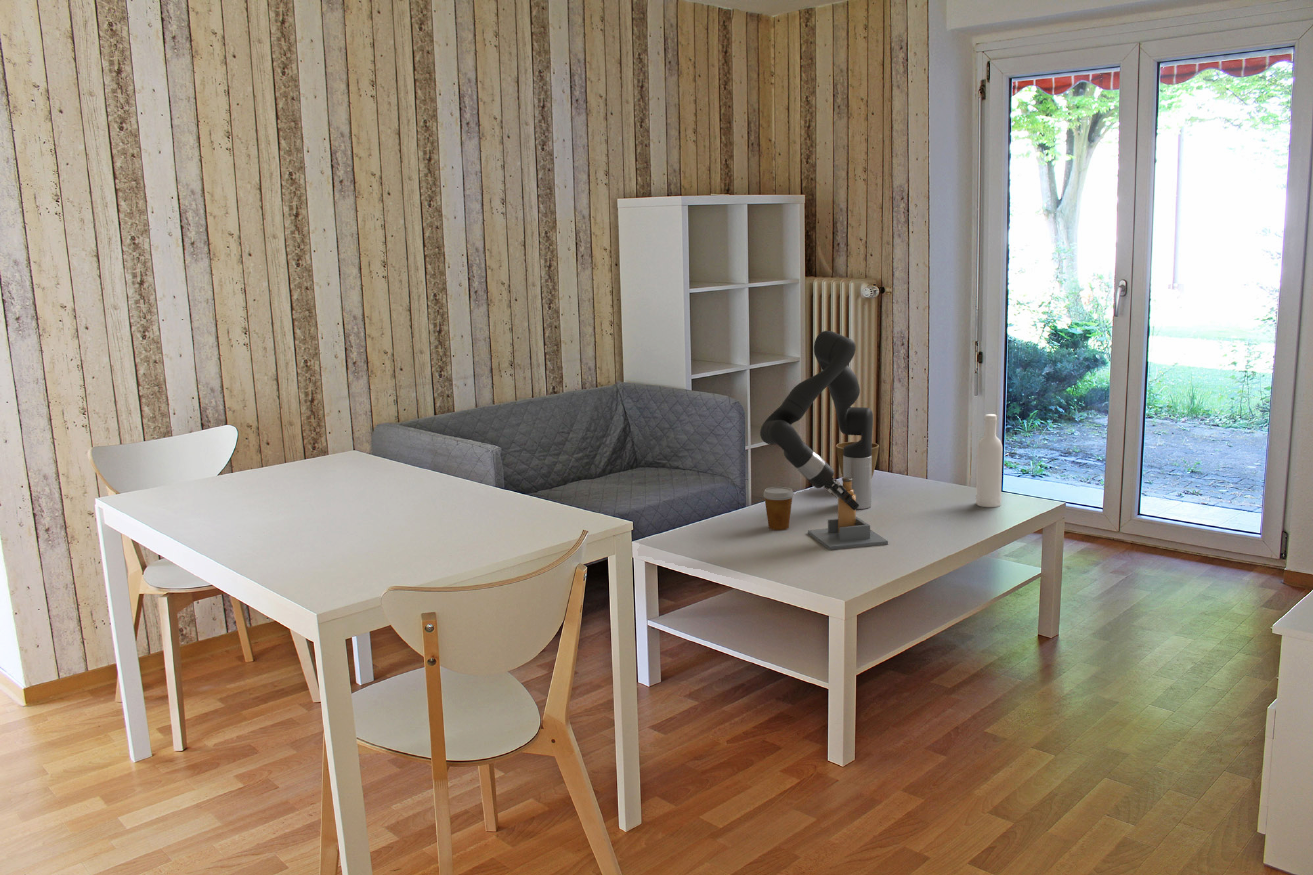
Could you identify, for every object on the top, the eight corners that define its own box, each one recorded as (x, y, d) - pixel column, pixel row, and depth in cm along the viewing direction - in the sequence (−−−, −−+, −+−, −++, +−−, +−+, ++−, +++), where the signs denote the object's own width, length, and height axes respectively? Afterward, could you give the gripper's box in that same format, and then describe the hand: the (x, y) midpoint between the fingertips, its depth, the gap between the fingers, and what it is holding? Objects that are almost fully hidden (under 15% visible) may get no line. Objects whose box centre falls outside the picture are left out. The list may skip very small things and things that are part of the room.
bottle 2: (1002, 507, 332) (1005, 417, 327) (977, 507, 334) (979, 417, 328) (999, 501, 340) (1002, 412, 334) (974, 501, 341) (977, 412, 336)
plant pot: (887, 489, 361) (887, 445, 358) (855, 496, 353) (855, 451, 350) (859, 482, 373) (859, 439, 370) (827, 488, 366) (827, 444, 363)
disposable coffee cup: (800, 526, 319) (799, 489, 316) (782, 533, 312) (781, 495, 309) (775, 521, 325) (775, 485, 323) (757, 528, 318) (756, 490, 316)
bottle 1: (834, 529, 305) (835, 477, 302) (850, 527, 307) (851, 475, 304) (842, 534, 300) (843, 481, 297) (858, 532, 302) (859, 479, 299)
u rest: (829, 550, 294) (829, 533, 293) (807, 533, 311) (807, 517, 310) (888, 544, 297) (888, 527, 296) (863, 528, 314) (863, 512, 314)
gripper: (832, 464, 291) (871, 501, 296) (814, 454, 305) (851, 490, 309) (814, 483, 291) (853, 521, 296) (797, 473, 305) (835, 508, 309)
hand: (852, 505), depth 302 cm, fingers closed on bottle 1, 5 cm apart
